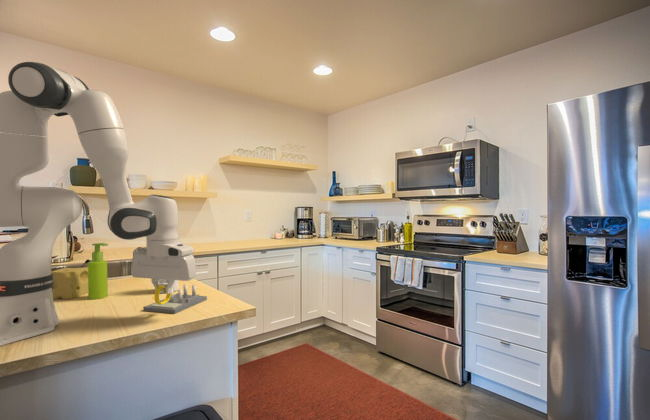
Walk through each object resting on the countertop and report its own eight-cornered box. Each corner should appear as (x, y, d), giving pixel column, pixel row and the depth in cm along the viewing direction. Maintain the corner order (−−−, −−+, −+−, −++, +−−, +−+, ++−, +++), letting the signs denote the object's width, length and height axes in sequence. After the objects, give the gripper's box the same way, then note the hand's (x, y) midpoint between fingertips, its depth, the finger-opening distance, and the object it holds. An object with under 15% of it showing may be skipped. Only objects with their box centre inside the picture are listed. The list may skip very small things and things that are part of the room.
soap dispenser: (100, 299, 120) (99, 244, 120) (84, 299, 121) (83, 244, 121) (113, 295, 126) (112, 242, 125) (98, 294, 127) (97, 242, 127)
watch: (160, 307, 100) (159, 287, 99) (152, 306, 100) (151, 287, 100) (173, 300, 105) (172, 281, 105) (165, 299, 106) (165, 281, 105)
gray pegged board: (175, 313, 103) (174, 296, 103) (143, 310, 107) (143, 294, 107) (206, 299, 119) (206, 285, 119) (178, 297, 122) (178, 283, 122)
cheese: (71, 299, 121) (71, 272, 121) (42, 299, 121) (41, 272, 121) (92, 292, 132) (91, 266, 131) (65, 292, 132) (64, 267, 132)
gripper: (125, 248, 101) (125, 293, 102) (186, 251, 97) (186, 298, 98) (140, 245, 107) (141, 288, 108) (198, 248, 103) (198, 292, 104)
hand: (163, 293), depth 103 cm, fingers closed on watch
